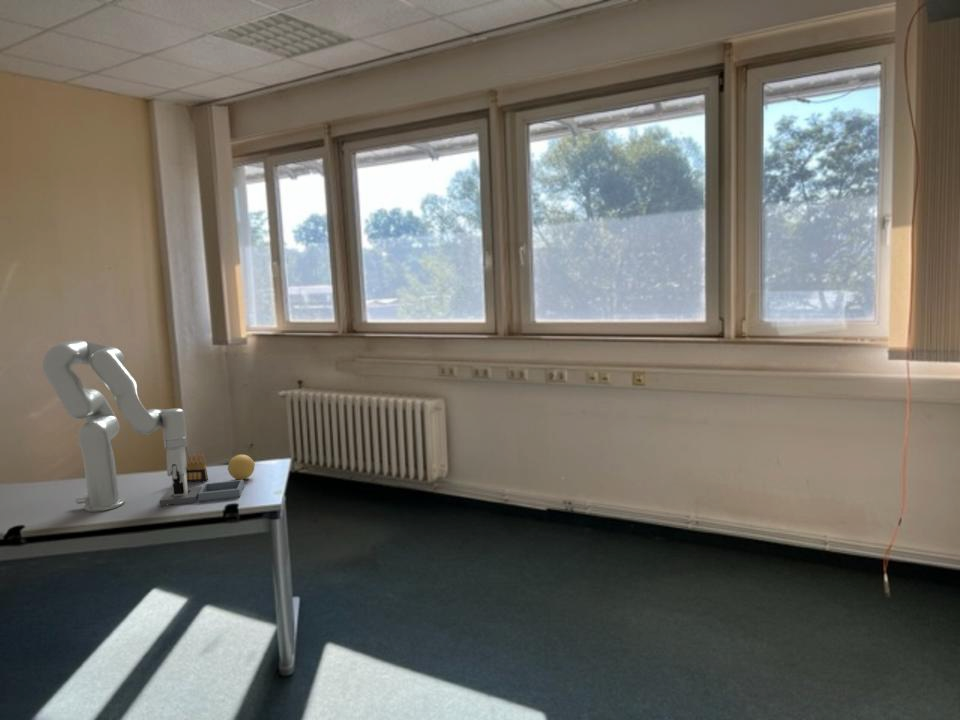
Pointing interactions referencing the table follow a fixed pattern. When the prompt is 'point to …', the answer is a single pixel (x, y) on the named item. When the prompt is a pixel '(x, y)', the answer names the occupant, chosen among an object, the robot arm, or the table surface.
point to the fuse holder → (180, 497)
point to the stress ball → (241, 467)
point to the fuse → (184, 481)
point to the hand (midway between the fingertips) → (180, 491)
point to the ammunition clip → (196, 469)
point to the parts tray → (221, 490)
